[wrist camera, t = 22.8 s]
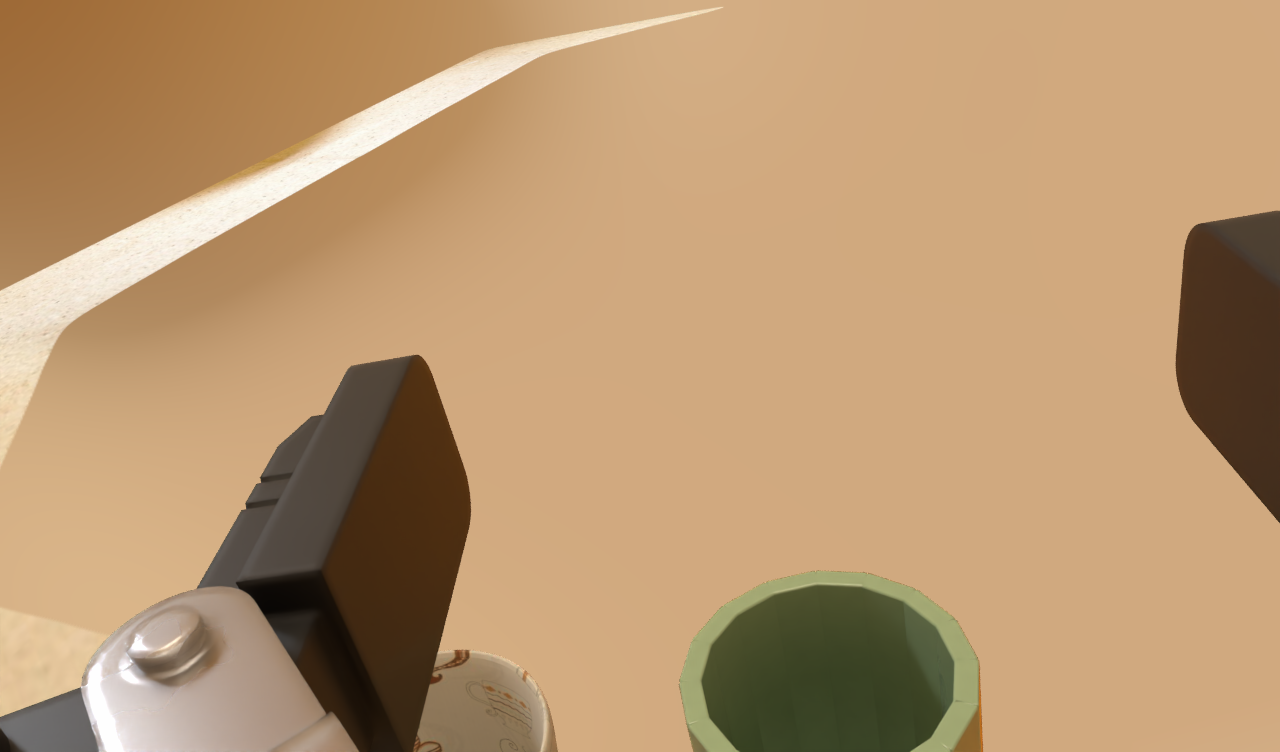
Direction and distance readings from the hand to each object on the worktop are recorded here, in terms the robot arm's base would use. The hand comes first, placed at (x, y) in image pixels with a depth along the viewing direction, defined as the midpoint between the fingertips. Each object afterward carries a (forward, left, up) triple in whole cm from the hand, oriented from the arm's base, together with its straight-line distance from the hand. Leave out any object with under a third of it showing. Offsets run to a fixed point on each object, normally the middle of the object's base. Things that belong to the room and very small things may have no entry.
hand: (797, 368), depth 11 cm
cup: (+3, +5, -21) cm, 22 cm away
